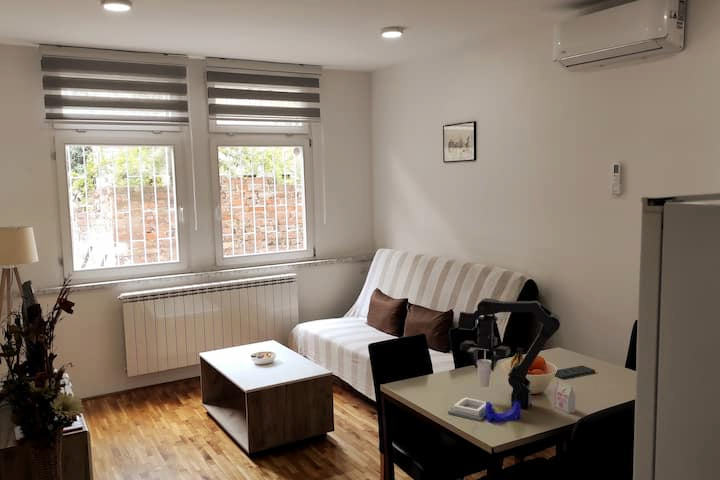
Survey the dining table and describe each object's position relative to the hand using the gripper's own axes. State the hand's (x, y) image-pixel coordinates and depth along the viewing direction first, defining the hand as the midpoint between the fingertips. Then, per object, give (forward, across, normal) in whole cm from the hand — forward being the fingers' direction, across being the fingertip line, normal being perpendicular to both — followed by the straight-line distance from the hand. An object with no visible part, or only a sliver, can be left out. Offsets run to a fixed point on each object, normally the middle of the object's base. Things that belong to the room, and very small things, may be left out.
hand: (484, 369), depth 234 cm
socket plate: (+13, 0, +13) cm, 18 cm away
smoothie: (+6, 0, 0) cm, 7 cm away
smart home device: (+13, -21, -52) cm, 58 cm away
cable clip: (+13, -13, +13) cm, 23 cm away
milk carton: (+13, -29, -8) cm, 33 cm away
